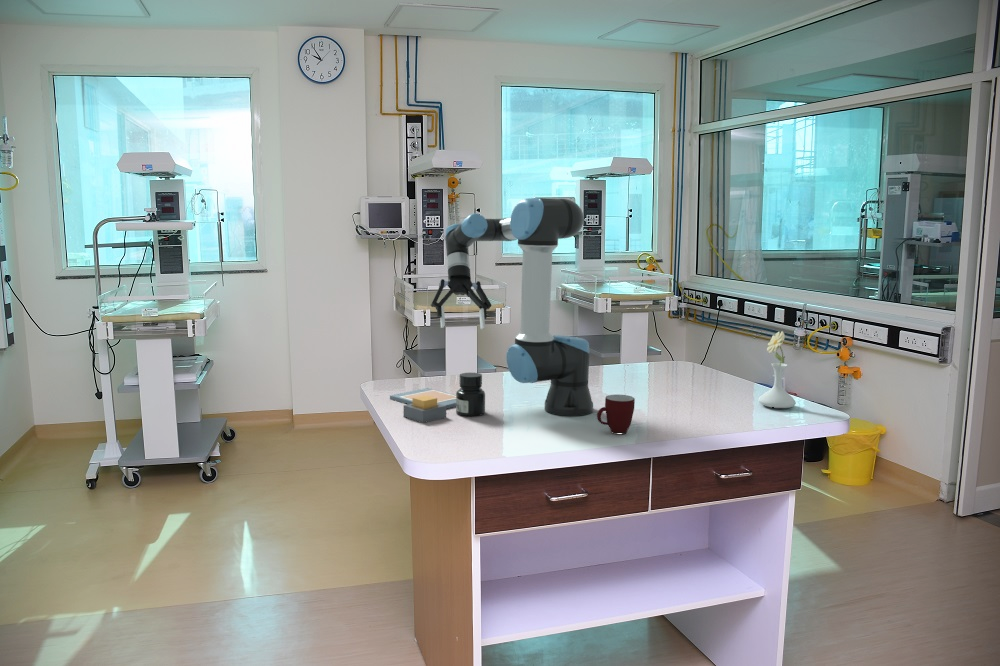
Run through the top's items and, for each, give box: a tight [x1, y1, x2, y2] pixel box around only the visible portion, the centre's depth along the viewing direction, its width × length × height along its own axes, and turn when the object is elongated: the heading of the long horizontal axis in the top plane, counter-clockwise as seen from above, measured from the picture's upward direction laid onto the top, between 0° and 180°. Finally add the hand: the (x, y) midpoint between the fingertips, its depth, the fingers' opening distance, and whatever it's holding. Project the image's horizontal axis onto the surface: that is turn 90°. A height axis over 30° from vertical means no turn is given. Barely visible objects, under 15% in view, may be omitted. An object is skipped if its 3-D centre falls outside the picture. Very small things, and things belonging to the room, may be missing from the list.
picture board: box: [389, 387, 456, 409], centre depth 248 cm, size 22×16×1 cm
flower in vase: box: [757, 330, 796, 409], centre depth 244 cm, size 13×11×25 cm
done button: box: [412, 395, 437, 409], centre depth 228 cm, size 5×5×4 cm
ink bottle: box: [455, 372, 486, 417], centre depth 233 cm, size 10×9×12 cm
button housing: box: [403, 403, 447, 423], centre depth 228 cm, size 9×9×4 cm
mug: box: [596, 394, 636, 434], centre depth 214 cm, size 10×8×10 cm
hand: (463, 327), depth 252 cm, fingers open, 13 cm apart
